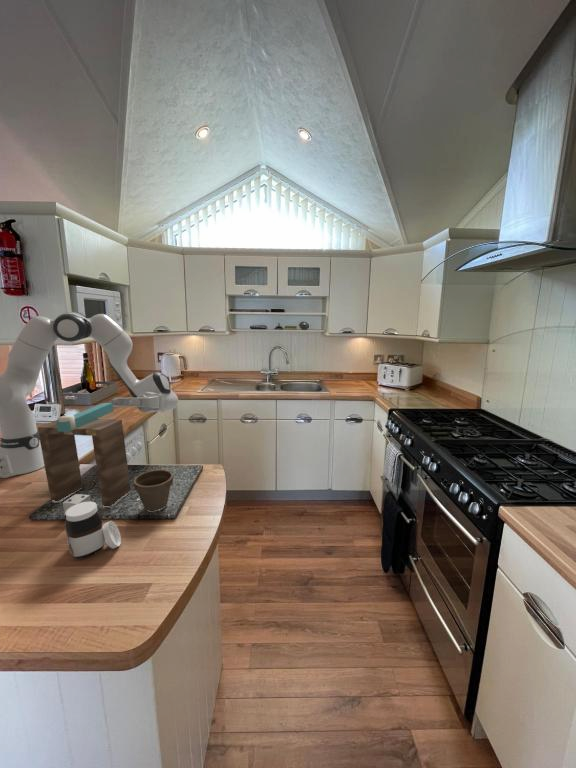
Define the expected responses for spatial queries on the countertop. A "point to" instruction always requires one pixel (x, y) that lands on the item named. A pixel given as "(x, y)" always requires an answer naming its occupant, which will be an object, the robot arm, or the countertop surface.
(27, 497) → the countertop surface
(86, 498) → the ivory die
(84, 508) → the spread jar
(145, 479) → the flower pot
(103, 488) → the walnut shelf
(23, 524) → the countertop surface
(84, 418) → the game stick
